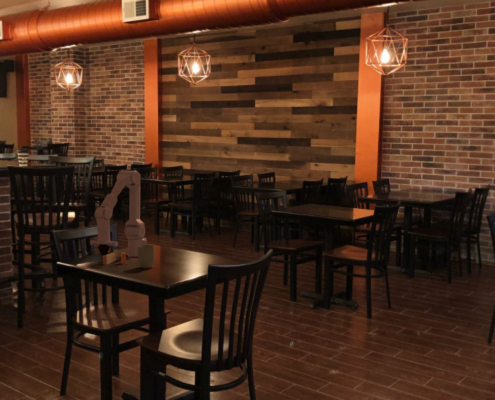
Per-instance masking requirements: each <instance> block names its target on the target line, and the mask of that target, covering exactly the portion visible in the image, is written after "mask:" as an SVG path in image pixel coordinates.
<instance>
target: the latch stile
mask: <svg viewBox="0 0 495 400" xmlns="http://www.w3.org/2000/svg"><path fill="white" fill-rule="evenodd" d="M126 254H127V252H120V260H121V261H120V264H121V265H126V264H127V265H128V262H127V255H126Z"/></svg>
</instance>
